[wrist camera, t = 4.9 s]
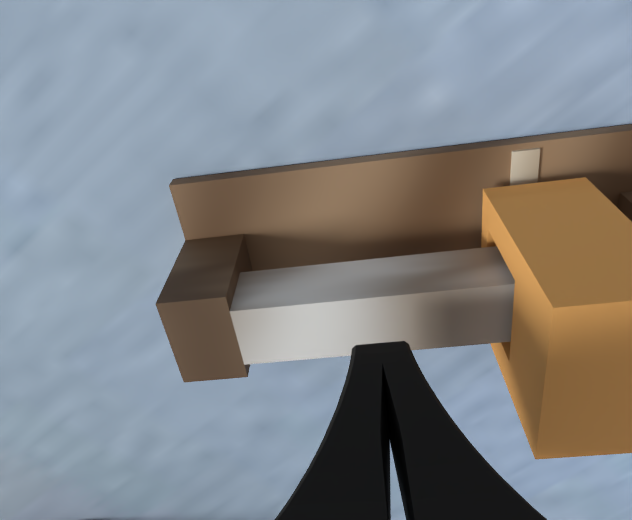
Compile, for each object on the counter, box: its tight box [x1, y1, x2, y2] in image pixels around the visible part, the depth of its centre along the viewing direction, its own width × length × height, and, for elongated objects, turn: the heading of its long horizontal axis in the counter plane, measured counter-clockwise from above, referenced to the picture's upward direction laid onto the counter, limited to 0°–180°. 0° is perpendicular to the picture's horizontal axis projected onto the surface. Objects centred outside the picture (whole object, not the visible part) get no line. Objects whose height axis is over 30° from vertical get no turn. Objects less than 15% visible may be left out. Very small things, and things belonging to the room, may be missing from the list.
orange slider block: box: [481, 177, 632, 459], centre depth 15 cm, size 3×5×6 cm, turn 8°
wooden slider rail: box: [156, 124, 632, 382], centre depth 17 cm, size 16×7×4 cm, turn 98°
